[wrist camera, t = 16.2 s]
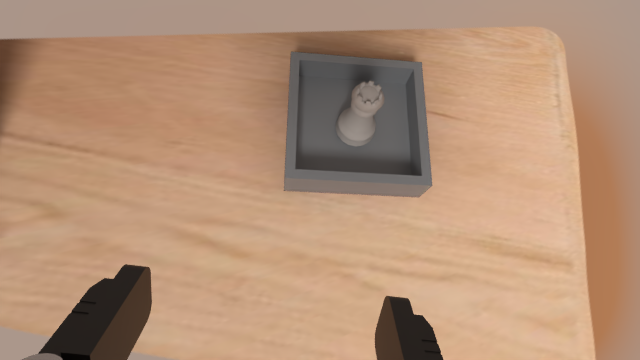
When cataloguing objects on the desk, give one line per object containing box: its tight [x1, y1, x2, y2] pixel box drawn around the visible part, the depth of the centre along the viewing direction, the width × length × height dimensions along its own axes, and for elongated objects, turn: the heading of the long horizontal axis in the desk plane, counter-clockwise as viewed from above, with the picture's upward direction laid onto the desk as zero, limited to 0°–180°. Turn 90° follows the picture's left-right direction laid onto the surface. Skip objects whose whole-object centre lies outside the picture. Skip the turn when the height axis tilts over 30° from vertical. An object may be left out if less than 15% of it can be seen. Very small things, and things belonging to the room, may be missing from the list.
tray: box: [284, 52, 432, 197], centre depth 44 cm, size 15×15×4 cm
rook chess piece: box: [336, 80, 384, 146], centre depth 41 cm, size 4×4×8 cm
